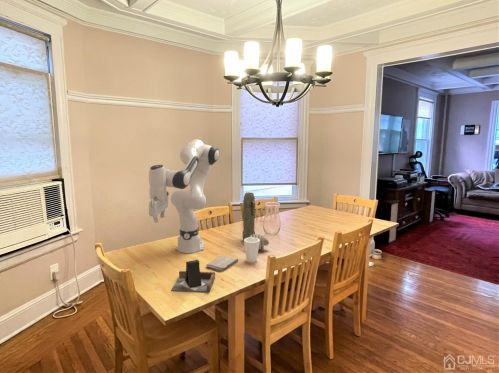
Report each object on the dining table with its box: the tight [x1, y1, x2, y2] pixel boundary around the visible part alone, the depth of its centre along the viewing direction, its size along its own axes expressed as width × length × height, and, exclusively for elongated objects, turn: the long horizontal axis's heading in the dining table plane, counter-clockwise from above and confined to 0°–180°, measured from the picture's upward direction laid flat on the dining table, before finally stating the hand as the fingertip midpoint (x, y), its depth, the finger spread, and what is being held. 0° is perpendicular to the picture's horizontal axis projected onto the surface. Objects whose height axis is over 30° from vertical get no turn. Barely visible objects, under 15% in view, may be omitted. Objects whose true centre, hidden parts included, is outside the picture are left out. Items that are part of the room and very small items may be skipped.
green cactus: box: [242, 192, 256, 242], centre depth 224 cm, size 9×12×35 cm
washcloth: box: [206, 255, 239, 273], centre depth 186 cm, size 12×18×3 cm, turn 152°
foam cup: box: [243, 237, 260, 263], centre depth 192 cm, size 10×9×13 cm
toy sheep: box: [242, 233, 270, 252], centre depth 208 cm, size 11×17×11 cm, turn 95°
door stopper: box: [185, 259, 202, 288], centre depth 160 cm, size 9×6×12 cm, turn 27°
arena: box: [170, 270, 216, 294], centre depth 161 cm, size 15×19×4 cm
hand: (159, 220), depth 173 cm, fingers open, 8 cm apart
